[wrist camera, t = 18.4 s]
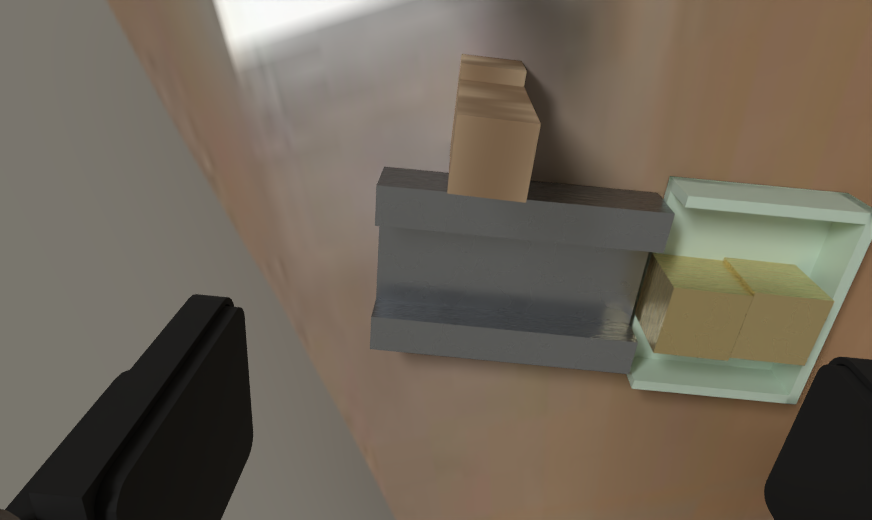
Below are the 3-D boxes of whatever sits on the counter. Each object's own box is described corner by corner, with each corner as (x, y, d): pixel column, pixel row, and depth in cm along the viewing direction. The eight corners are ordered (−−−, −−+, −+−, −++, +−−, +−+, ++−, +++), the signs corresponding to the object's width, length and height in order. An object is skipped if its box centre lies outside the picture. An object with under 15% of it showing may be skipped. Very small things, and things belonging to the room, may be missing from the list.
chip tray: (848, 193, 32) (883, 214, 29) (772, 372, 37) (796, 404, 35) (669, 176, 32) (688, 195, 29) (620, 357, 37) (631, 388, 35)
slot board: (657, 192, 32) (675, 213, 30) (617, 344, 37) (628, 374, 34) (384, 166, 32) (376, 185, 30) (377, 320, 37) (370, 348, 34)
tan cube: (722, 260, 33) (753, 296, 30) (701, 320, 35) (728, 360, 32) (652, 252, 33) (674, 287, 30) (634, 313, 35) (653, 352, 32)
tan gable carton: (521, 61, 30) (544, 104, 21) (507, 146, 32) (522, 219, 23) (461, 54, 30) (459, 94, 21) (451, 140, 32) (445, 210, 23)
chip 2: (795, 264, 33) (834, 301, 30) (770, 324, 35) (804, 365, 31) (724, 257, 33) (755, 292, 30) (702, 317, 35) (729, 357, 31)
